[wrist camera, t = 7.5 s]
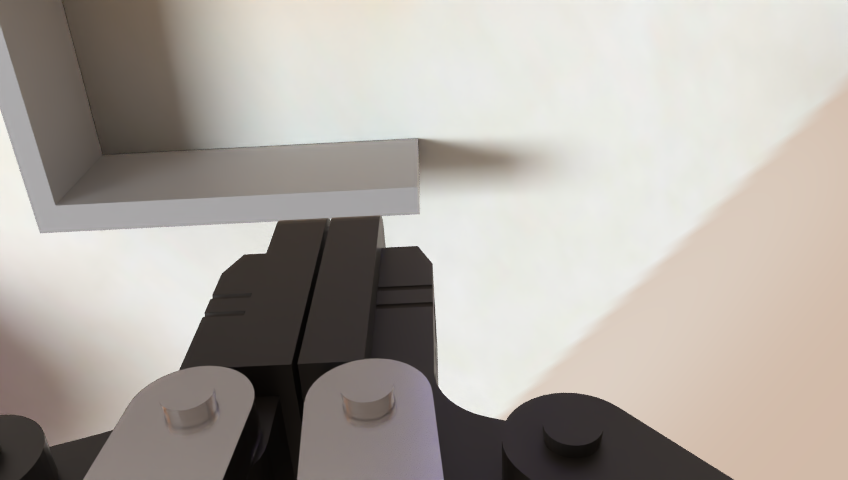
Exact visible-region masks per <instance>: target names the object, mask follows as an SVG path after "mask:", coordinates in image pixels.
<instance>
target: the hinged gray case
mask: <svg viewBox="0 0 848 480" xmlns="http://www.w3.org/2000/svg"><path fill="white" fill-rule="evenodd" d="M0 109H1V112H2V116H3V119H4V122H5V125H6V128H7V131H8V134H9V137H10V141H11V144H12V147H13V150H14V153H15V156H16V159H17V162H18V165H19V169H20V172H21V175H22V178H23V181H24V184H25V187H26V190H27V194H28V197H29V200H30V203H31V206H32V209H33V212H34V215H35V219H36V222H37V225H38V228H39V231H40V233H53V232H72V231H92V230H112V229H132V228H152V227H172V226H191V225H211V224H231V223H251V222H271V221H279V220H297V219H318V218H329V219H330V218H335V217H355V216H376V215H381V216H390V215H410V214H420V209H419V150H418V139H398V140H379V141H360V142H341V143H322V144H303V145H283V146H264V147H245V148H226V149H207V150H188V151H168V152H149V153H130V154H111V155H102V151H101V148H100V144H99V140H98V136H97V132H96V129H95V125H94V121H93V117H92V113H91V110H90V106H89V102H88V98H87V94H86V91H85V87H84V83H83V79H82V76H81V72H80V68H79V64H78V60H77V57H76V53H75V49H74V45H73V41H72V38H71V34H70V30H69V26H68V23H67V19H66V15H65V11H64V7H63V4H62V0H0Z"/></svg>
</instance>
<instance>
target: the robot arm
mask: <svg viewBox="0 0 848 480" xmlns="http://www.w3.org/2000/svg"><path fill="white" fill-rule="evenodd" d="M0 480H733V479H732V478H730V477H729V476H727V475H725V474H724V473H722V472H721V471H719V470H718V469H716V468H714V467H713V466H711V465H709V464H708V463H706V462H705V461H703V460H701V459H700V458H698V457H697V456H695V455H694V454H692V453H690V452H689V451H687V450H686V449H684V448H682V447H681V446H679V445H678V444H676V443H674V442H673V441H671V440H670V439H668V438H667V437H665V436H663V435H662V434H660V433H659V432H657V431H655V430H654V429H652V428H651V427H649V426H647V425H646V424H644V423H643V422H641V421H639V420H638V419H636V418H634V417H633V416H631V415H630V414H628V413H627V412H625V411H623V410H622V409H620V408H619V407H617V406H615V405H613V404H611V403H609V402H607V401H605V400H602V399H600V398H597V397H593V396H589V395H584V394H577V393H555V394H549V395H543V396H540V397H537V398H534V399H531V400H529V401H527V402H525V403H523V404H522V405H520V406H519V407H518V408H516V409H515V410H514V411H513V412H512V413H511V414H510V415H509V417H508V418H507V420H506V421H504V420H499V419H494V418H489V417H485V416H481V415H477V414H474V413H472V412H469V411H466V410H464V409H463V408H461V407H459V406H457V405H456V404H454V403H453V402H451V401H450V400H449V399H448V398H447V397H446V396H445V395H444V394H443V393H442V392H441V390H440V389H439V387H438V359H437V336H436V318H435V301H434V284H433V267H432V263H431V261H430V260H429V259H428V258H427V257H426V256H425V254H424V253H423V252H422V251H421V250H420V248H419V247H418V246H412V247H391V248H385V237H384V227H383V220H382V216H381V215H376V216H355V217H335V218H332V219H331V221H330V219H329V218H318V219H297V220H279V221H278V223H277V225H276V228H275V231H274V234H273V236H272V239H271V242H270V245H269V248H268V250H267V253H266V254H248V255H243V256H242V257H241V258H240V259H239V260H237V261H236V262H235V263H234V264H233V265H232V266H230V267H229V268H228V269H227V270H226V271H225V272H223V273H222V275H221V277H220V279H219V281H218V284H217V286H216V288H215V291H214V293H213V299H211V300H210V302H209V304H208V306H207V309H206V311H205V317H203V318H202V320H201V322H200V324H199V327H198V329H197V331H196V334H195V336H194V338H193V340H192V343H191V345H190V347H189V349H188V352H187V354H186V356H185V358H184V361H183V363H182V365H181V367H180V370H179V371H176V372H173V373H171V374H168V375H166V376H164V377H161V378H159V379H157V380H156V381H154V382H152V383H151V384H149V385H148V386H146V387H145V388H144V389H143V390H141V391H140V392H139V393H138V394H137V395H136V396H135V397H134V398H133V400H132V401H131V402H130V404H129V405H128V407H127V408H126V410H125V412H124V413H123V415H122V417H121V418H120V420H119V421H118V423H117V425H116V426H115V428H114V430H111V431H108V432H105V433H101V434H98V435H94V436H90V437H86V438H82V439H79V440H75V441H71V442H67V443H63V444H60V445H56V446H52V447H49V445H48V443H47V440H46V437H45V435H44V432H43V430H42V428H41V427H40V426H39V425H38V424H37V423H36V422H35V421H33V420H31V419H29V418H26V417H23V416H16V415H0Z"/></svg>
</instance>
